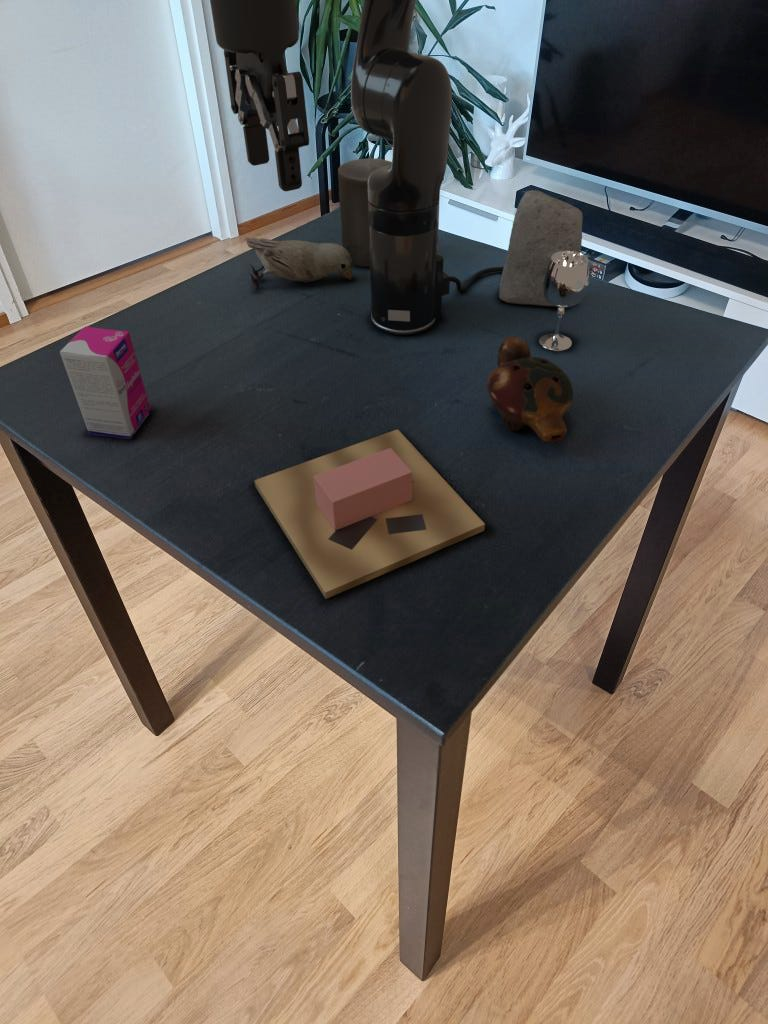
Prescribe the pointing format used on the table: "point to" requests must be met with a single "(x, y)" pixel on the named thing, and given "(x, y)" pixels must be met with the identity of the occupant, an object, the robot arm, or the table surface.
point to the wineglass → (564, 291)
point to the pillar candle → (356, 207)
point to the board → (375, 539)
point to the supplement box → (106, 382)
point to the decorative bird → (300, 259)
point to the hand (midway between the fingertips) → (274, 175)
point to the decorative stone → (537, 245)
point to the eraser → (363, 488)
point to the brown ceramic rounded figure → (530, 391)
